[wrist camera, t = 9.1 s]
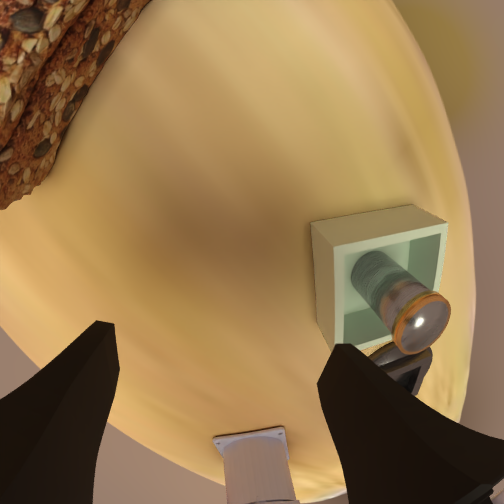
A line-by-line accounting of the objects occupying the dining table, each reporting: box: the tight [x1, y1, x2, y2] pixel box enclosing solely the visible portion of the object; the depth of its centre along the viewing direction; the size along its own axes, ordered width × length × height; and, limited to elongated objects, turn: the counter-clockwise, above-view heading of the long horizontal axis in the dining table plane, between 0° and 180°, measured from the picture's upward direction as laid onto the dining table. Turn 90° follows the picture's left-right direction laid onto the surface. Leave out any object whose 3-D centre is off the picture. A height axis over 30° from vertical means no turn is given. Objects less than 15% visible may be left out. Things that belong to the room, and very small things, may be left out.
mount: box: [368, 341, 433, 396], centre depth 25 cm, size 10×10×2 cm
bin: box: [310, 205, 448, 353], centre depth 18 cm, size 8×8×4 cm
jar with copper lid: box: [351, 251, 451, 354], centre depth 17 cm, size 4×4×7 cm
